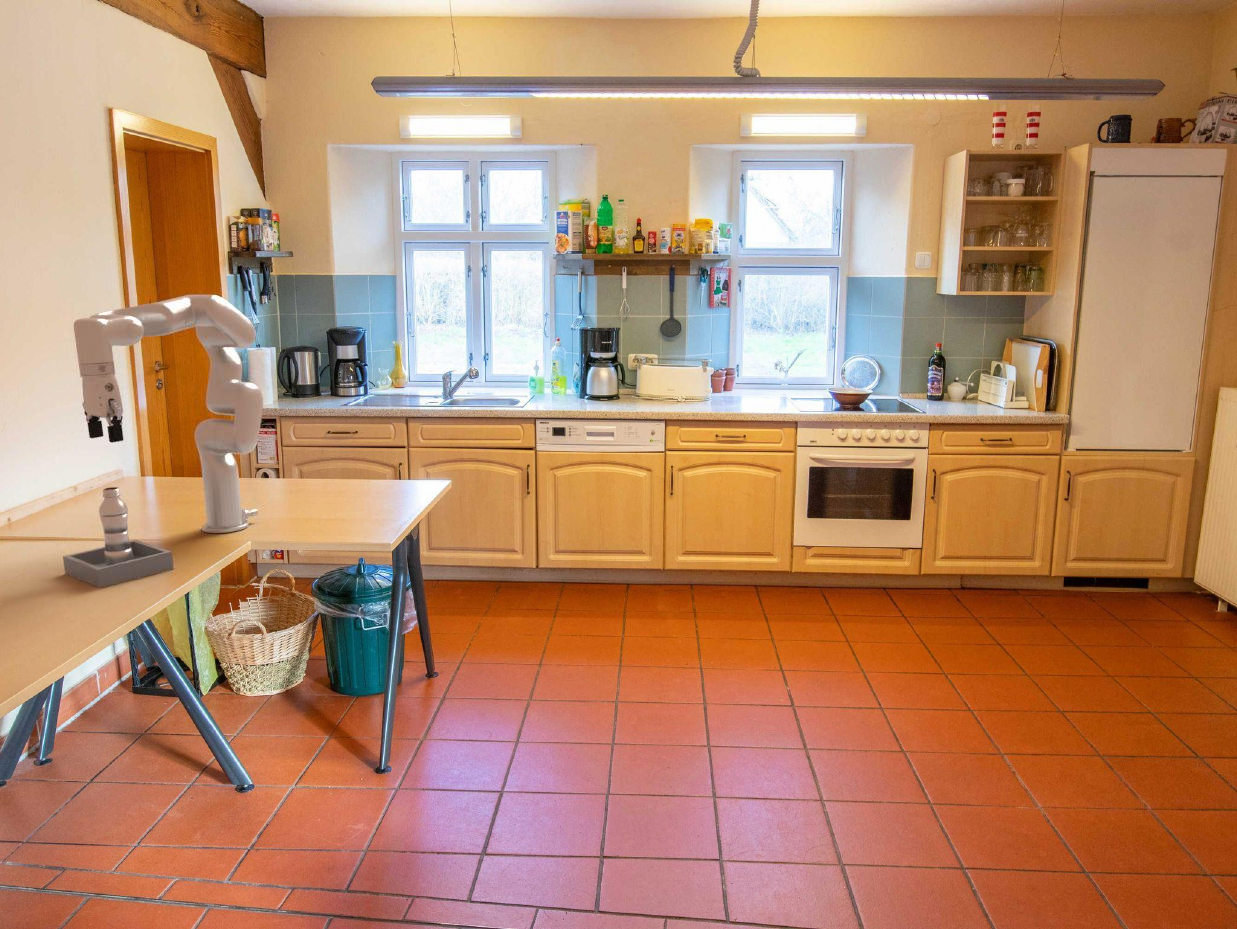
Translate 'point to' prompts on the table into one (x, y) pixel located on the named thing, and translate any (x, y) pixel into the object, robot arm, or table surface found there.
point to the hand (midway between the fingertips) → (106, 439)
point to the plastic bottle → (115, 527)
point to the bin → (117, 565)
